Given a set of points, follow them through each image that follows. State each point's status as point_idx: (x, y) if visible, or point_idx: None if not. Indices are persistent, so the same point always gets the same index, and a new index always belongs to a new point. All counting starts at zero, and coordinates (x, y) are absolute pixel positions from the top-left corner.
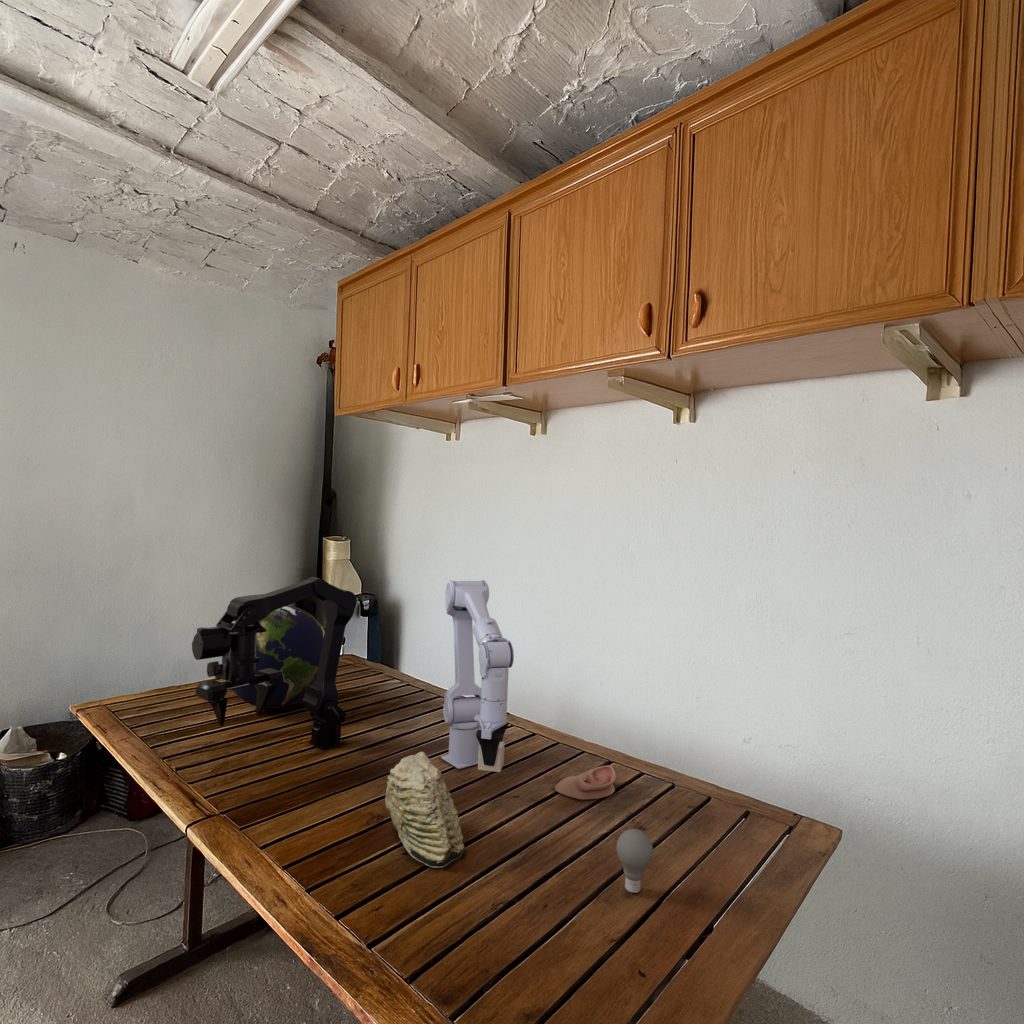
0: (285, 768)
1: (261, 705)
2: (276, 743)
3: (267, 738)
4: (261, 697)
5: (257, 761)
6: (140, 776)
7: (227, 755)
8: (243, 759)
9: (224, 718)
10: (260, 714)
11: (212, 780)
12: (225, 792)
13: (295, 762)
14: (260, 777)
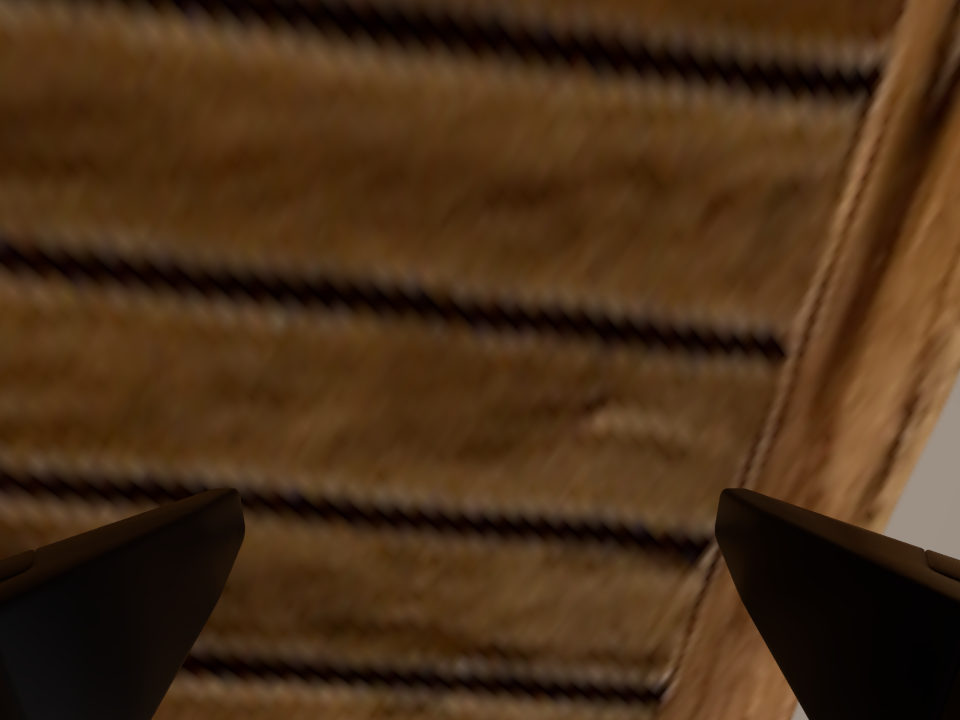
0: (251, 77)
1: (154, 553)
2: (110, 479)
3: None
4: (72, 681)
5: (336, 330)
6: None
7: (419, 525)
8: (384, 417)
9: (790, 517)
10: (213, 490)
11: (681, 286)
12: (752, 50)
13: (143, 115)
14: (460, 81)
